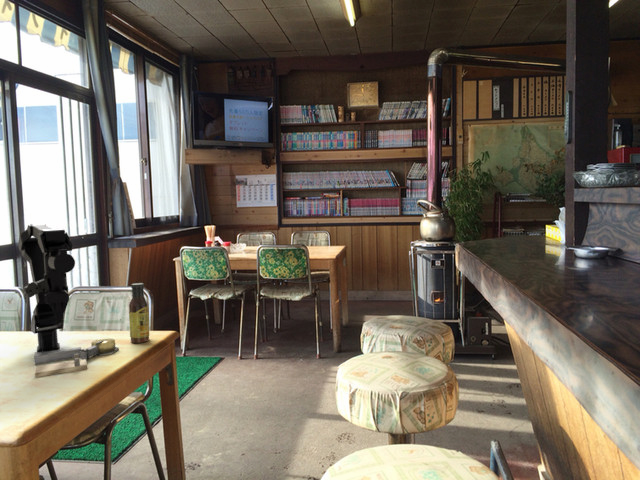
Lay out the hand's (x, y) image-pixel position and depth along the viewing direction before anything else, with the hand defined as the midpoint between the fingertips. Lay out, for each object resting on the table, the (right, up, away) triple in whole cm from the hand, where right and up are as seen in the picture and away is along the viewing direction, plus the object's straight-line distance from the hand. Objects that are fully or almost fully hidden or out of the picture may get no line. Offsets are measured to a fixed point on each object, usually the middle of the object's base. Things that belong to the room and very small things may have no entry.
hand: (59, 320), depth 153 cm
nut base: (+11, -11, +7) cm, 17 cm away
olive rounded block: (+10, -11, +4) cm, 15 cm away
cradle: (+6, -13, -10) cm, 17 cm away
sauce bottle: (+18, -10, +18) cm, 28 cm away
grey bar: (0, -12, +1) cm, 12 cm away
